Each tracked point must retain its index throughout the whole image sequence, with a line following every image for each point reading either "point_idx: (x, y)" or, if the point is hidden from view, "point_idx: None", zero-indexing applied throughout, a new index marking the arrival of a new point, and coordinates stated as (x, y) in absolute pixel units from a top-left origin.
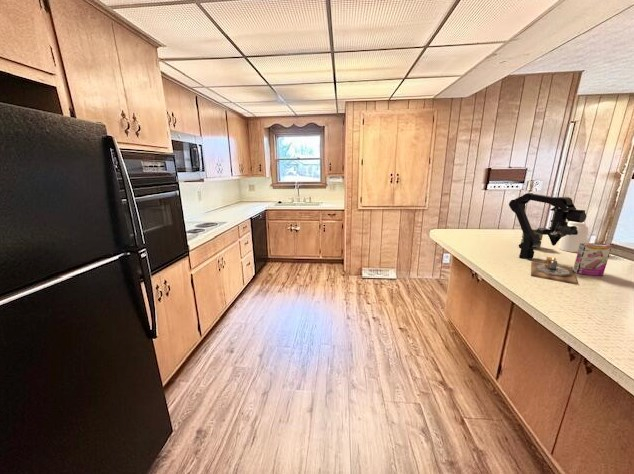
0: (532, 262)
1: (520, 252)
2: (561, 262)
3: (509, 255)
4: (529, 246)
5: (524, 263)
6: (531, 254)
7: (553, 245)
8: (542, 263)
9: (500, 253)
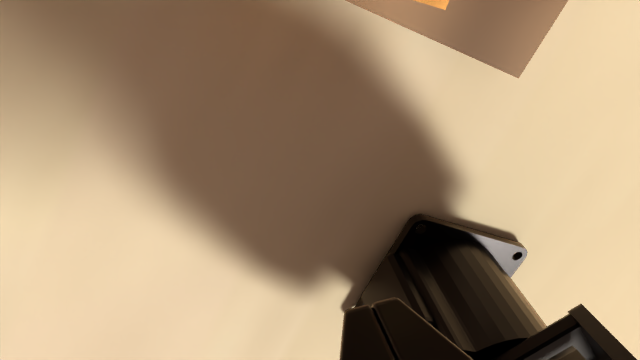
0: (541, 22)
1: (538, 315)
2: (24, 216)
3: (571, 295)
4: (613, 353)
5: (617, 18)
6: (434, 286)
7: (392, 299)
8: (413, 3)
9: (618, 328)
